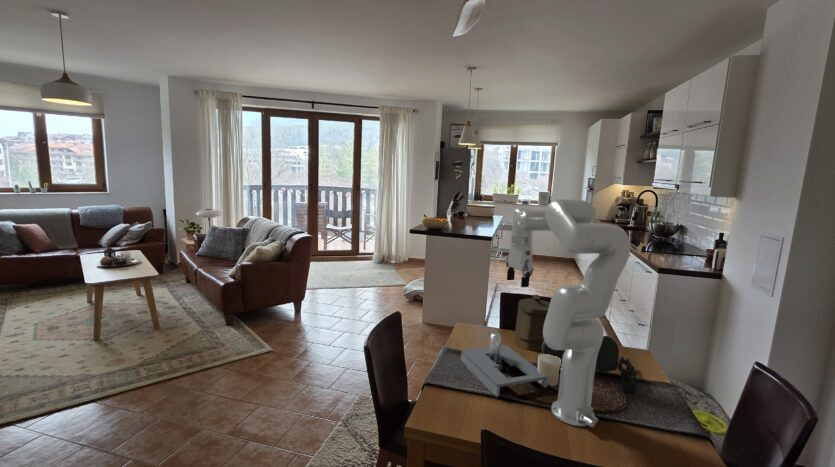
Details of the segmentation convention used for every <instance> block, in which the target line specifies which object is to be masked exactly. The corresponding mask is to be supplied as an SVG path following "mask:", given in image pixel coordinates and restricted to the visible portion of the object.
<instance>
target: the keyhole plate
mask: <svg viewBox="0 0 835 467" xmlns="http://www.w3.org/2000/svg"><path fill="white" fill-rule="evenodd" d="M489 348H490V346H486V347H478V348H477V347H476V348H471V349H463V350H461V354H460V357H461V358H460V362H461V361H462V362H463V363H464V364H465V365H466V366H467V367H466V366H465V365H464V364H463V363H462V362H461V363H462V364H463V365H464V366H465V367H466V368H467V369H468V371H470V372H471V373H472V374H473V375H474V376H475V377H476V378H477V379H478V380H479V381H480V382H481V384H483V385H484V386H485V388H487V389H488V391H490V392H491V393H492V394H493V393H494V394H495V395H496V396H495V395H494V394H493V395H494V396H495V398H498V397H497V396H499V397H500V392H501V387H508V386H514V385H520V384H526V383H532V382H535V381H539V380H543V382H542V386H544V387H547V388H548V380H549V376H548V375H547V376H545V375H542V374H540V373H538V370H537V367H536V366H535V365H534V364H532V363H531V362H530V361H528V360H527V359H525V358H524V357H523V356H522V355H521V354H520V353H518V352H517V351H515V350H513V349H512V347H509V346H508V345H507V344H501V347H500V358H499V359H500V360H503V361H504V362H505V363H506V364H508V365H509V366H510V367H513V366H515V367H517V369H519V370H520V371H521V372H523V374H525V375H522V376H514V377H510V378H508V377H507V376H505V374H503V373H502V372H501V370H500V371H499V370H498V369H496V368H498V365H497V364H496V363H495V362H494V361H492V360H491V359H490V358H489Z"/></svg>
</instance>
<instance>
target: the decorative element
mask: <svg viewBox="0 0 835 467" xmlns="http://www.w3.org/2000/svg"><path fill="white" fill-rule="evenodd" d="M623 365H624V366H625V367H626V371H624V370H623V369H624V367H623ZM617 369H618V370H619V372H620V382H621V386H622V388H623V391H624V392H625V394H634V393H635V391H636V387H637V373H636V369H635V367H634V366H633V364H632V363H631V362H630V358H627V359H625V357H624V356H621V357H620V358H619V359H618V367H617ZM626 380H627V381H626ZM630 380H631V381H630ZM628 384H629V385H628Z"/></svg>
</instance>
